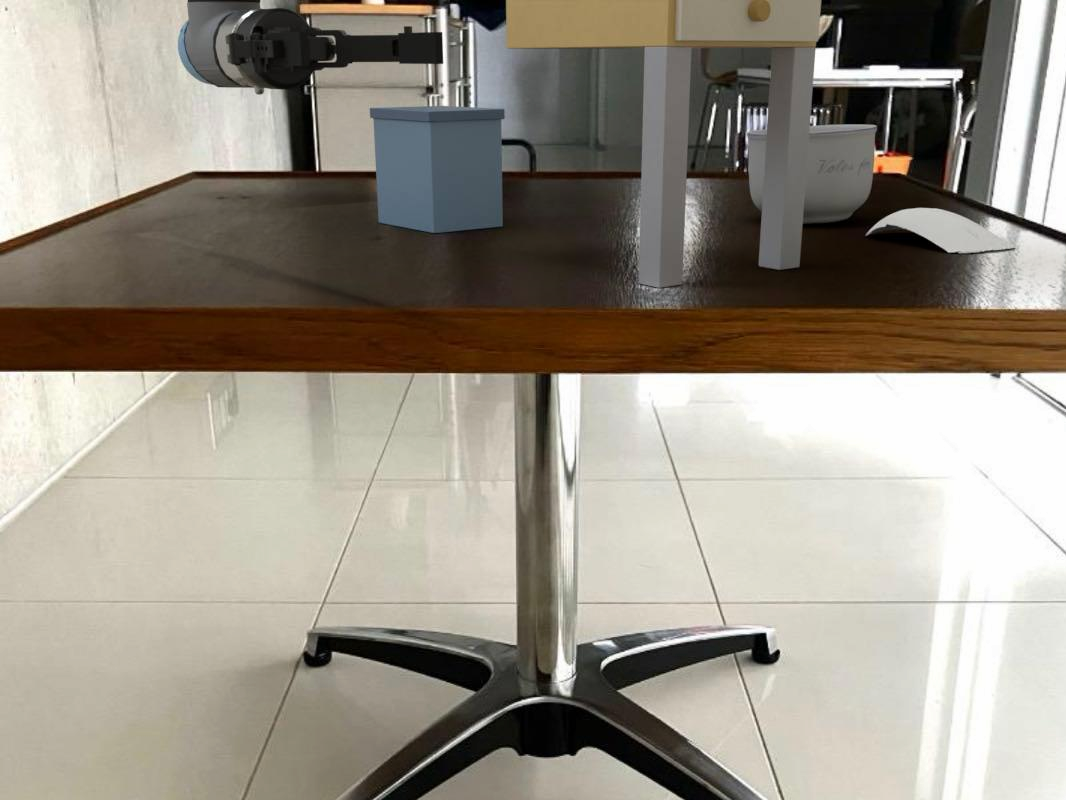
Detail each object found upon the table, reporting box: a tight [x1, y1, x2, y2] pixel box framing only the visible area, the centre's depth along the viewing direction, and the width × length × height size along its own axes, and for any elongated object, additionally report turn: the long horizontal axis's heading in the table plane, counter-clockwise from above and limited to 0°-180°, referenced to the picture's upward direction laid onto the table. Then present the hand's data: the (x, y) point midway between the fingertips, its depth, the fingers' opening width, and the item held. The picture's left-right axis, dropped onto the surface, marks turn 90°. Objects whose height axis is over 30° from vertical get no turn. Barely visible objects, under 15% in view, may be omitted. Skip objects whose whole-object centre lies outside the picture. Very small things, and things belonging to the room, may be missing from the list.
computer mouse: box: [865, 207, 1017, 254], centre depth 94 cm, size 7×12×2 cm, turn 26°
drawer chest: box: [505, 0, 822, 289], centre depth 81 cm, size 17×13×22 cm
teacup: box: [746, 123, 878, 225], centre depth 107 cm, size 14×11×8 cm
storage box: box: [369, 105, 506, 234], centre depth 104 cm, size 9×7×10 cm
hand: (374, 48), depth 108 cm, fingers open, 13 cm apart
